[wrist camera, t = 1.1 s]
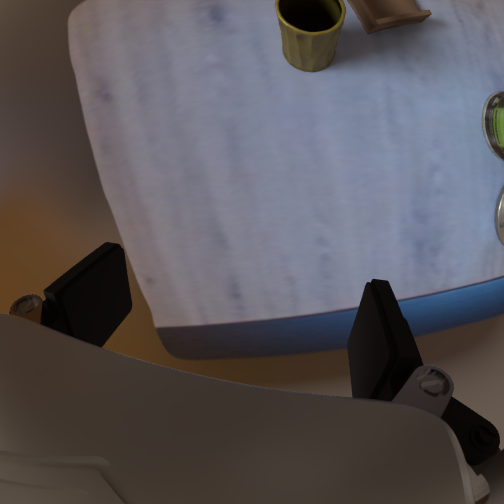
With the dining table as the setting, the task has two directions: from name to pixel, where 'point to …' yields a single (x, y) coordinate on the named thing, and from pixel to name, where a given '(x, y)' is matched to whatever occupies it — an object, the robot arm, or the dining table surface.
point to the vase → (310, 31)
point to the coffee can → (494, 123)
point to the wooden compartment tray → (387, 13)
